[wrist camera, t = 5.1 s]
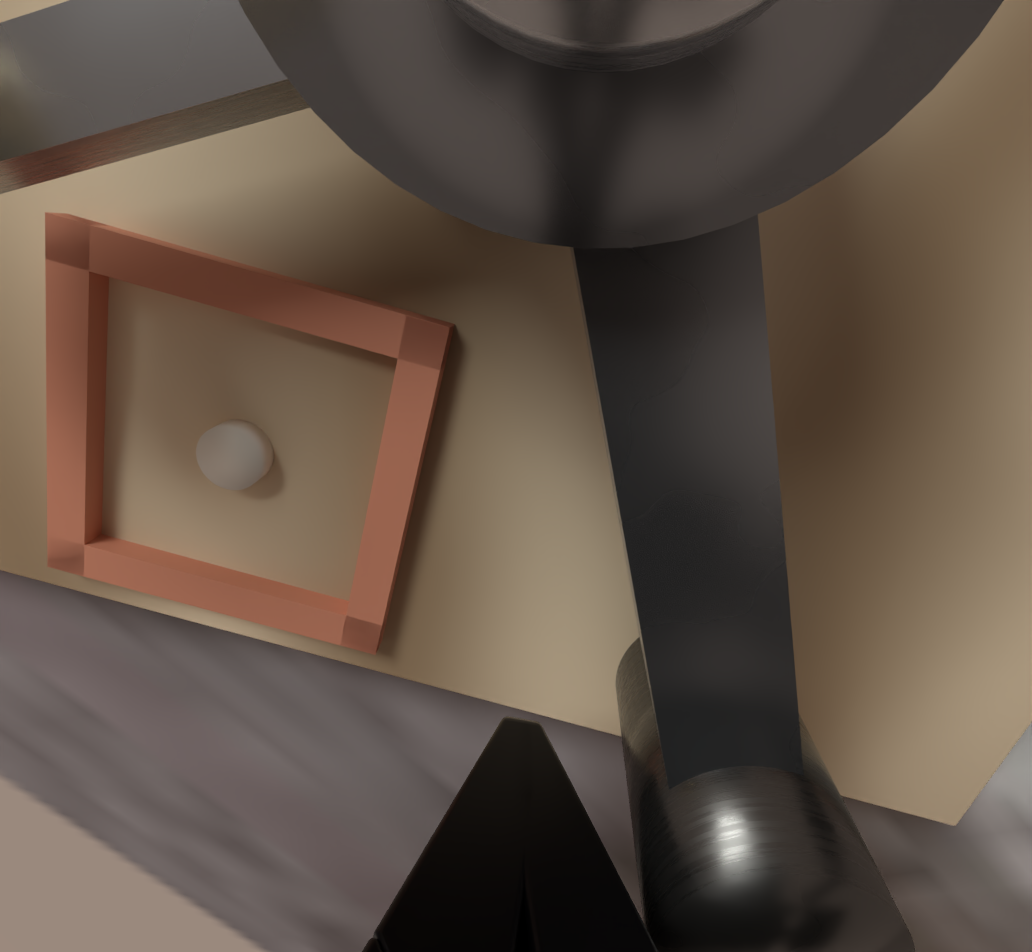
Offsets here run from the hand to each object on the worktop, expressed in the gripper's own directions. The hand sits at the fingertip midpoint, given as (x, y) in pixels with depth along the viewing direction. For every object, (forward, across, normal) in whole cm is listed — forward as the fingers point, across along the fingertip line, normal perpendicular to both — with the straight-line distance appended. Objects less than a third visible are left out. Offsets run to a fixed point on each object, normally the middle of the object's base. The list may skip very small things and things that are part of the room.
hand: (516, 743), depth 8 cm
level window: (+3, +5, -2) cm, 6 cm away
